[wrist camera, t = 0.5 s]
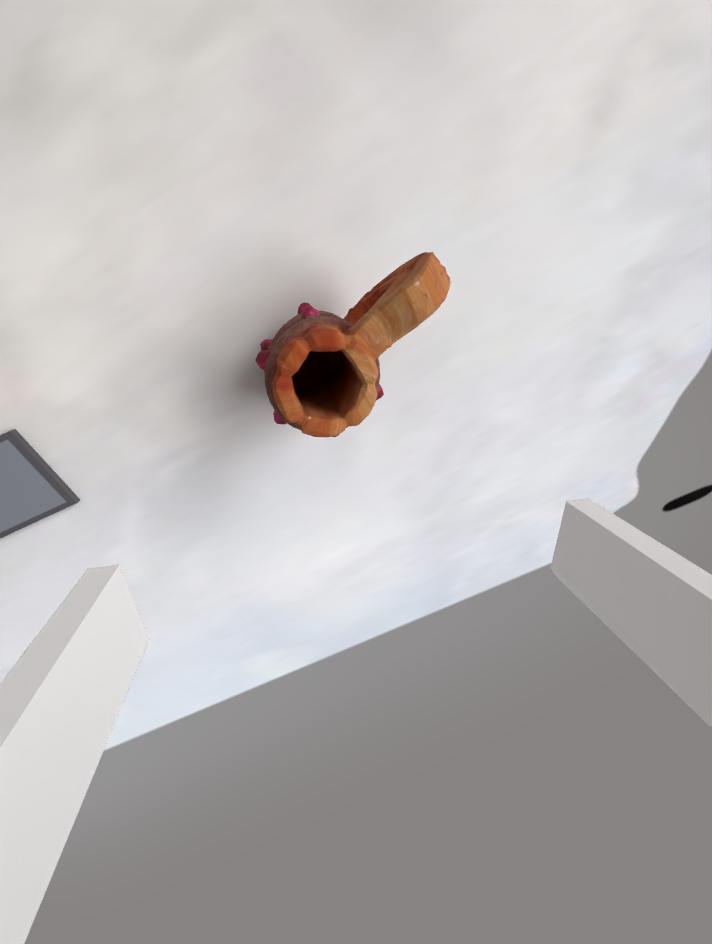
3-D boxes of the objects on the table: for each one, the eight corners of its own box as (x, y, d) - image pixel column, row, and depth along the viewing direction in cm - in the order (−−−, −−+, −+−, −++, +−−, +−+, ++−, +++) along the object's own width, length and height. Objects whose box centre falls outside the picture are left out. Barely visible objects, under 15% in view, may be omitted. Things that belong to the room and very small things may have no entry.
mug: (306, 422, 36) (320, 487, 22) (243, 359, 32) (214, 392, 19) (418, 317, 34) (507, 320, 20) (363, 239, 30) (426, 180, 17)
